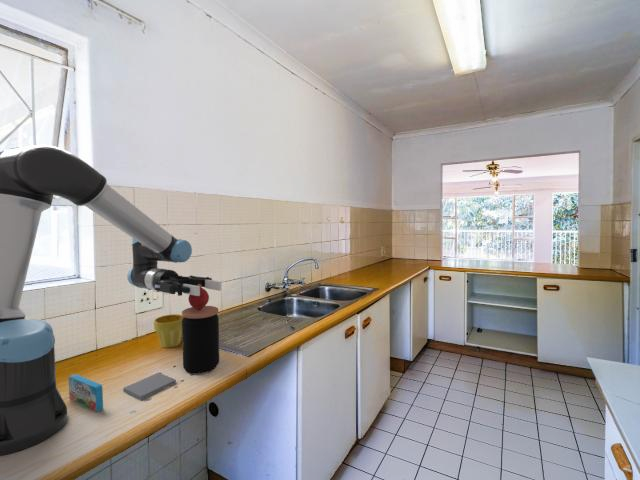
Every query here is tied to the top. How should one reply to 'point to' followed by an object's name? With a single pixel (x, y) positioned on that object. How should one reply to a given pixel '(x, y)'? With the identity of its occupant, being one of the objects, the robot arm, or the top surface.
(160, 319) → the plant pot
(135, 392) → the slate trivet
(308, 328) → the top surface
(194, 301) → the onion
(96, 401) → the blue flat box
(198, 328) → the coffee jar
